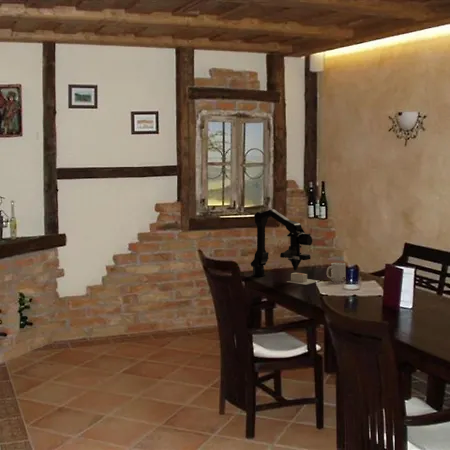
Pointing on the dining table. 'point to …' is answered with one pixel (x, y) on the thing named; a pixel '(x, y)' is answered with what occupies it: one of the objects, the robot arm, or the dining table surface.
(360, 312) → the dining table surface
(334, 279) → the cup
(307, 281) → the mat
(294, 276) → the block
